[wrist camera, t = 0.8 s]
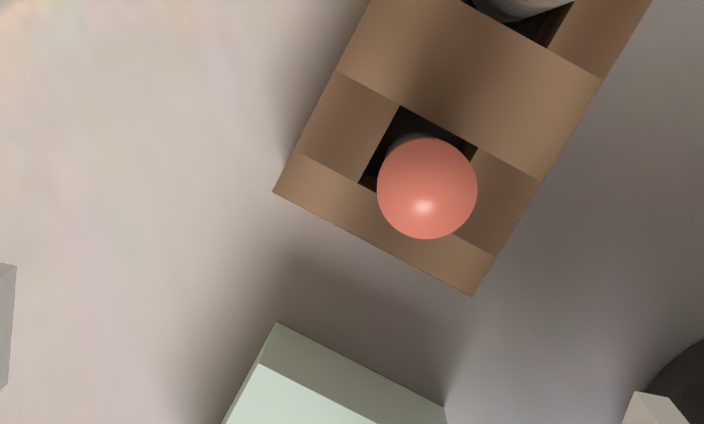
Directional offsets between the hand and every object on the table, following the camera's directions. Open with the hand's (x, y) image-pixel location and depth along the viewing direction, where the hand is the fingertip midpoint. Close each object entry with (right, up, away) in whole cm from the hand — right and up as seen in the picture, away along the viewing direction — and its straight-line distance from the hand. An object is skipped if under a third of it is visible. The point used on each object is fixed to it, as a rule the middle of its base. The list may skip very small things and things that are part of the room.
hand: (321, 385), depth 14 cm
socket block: (+6, +11, +17) cm, 21 cm away
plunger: (+3, +6, +15) cm, 17 cm away
